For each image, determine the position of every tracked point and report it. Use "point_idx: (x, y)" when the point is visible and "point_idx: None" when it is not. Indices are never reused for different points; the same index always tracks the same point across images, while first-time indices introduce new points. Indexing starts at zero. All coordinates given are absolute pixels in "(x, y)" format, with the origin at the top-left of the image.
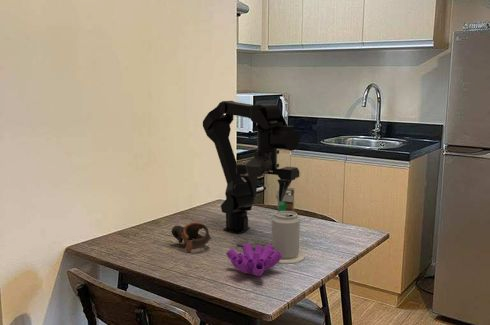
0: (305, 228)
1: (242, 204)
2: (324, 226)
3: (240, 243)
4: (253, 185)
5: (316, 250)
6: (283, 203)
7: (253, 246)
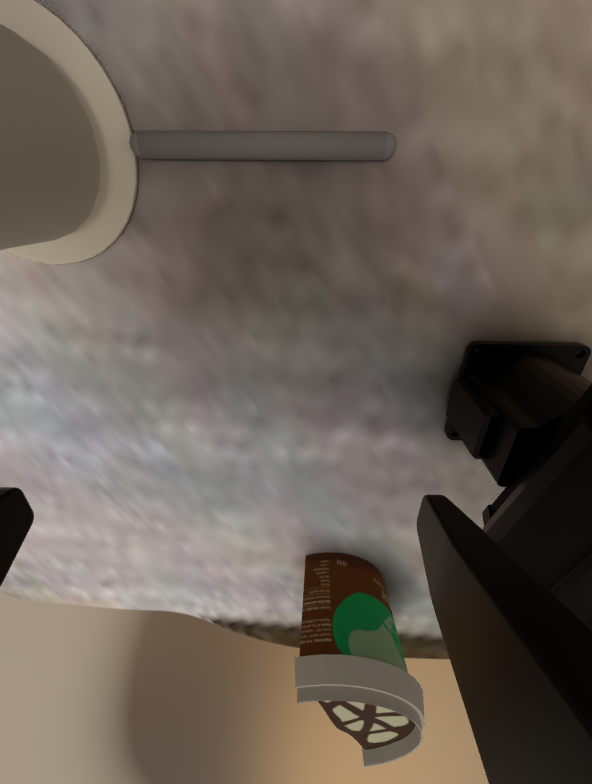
0: (232, 536)
1: (553, 464)
2: (190, 575)
3: (365, 138)
4: (530, 726)
5: (5, 340)
6: (350, 641)
7: (255, 137)
